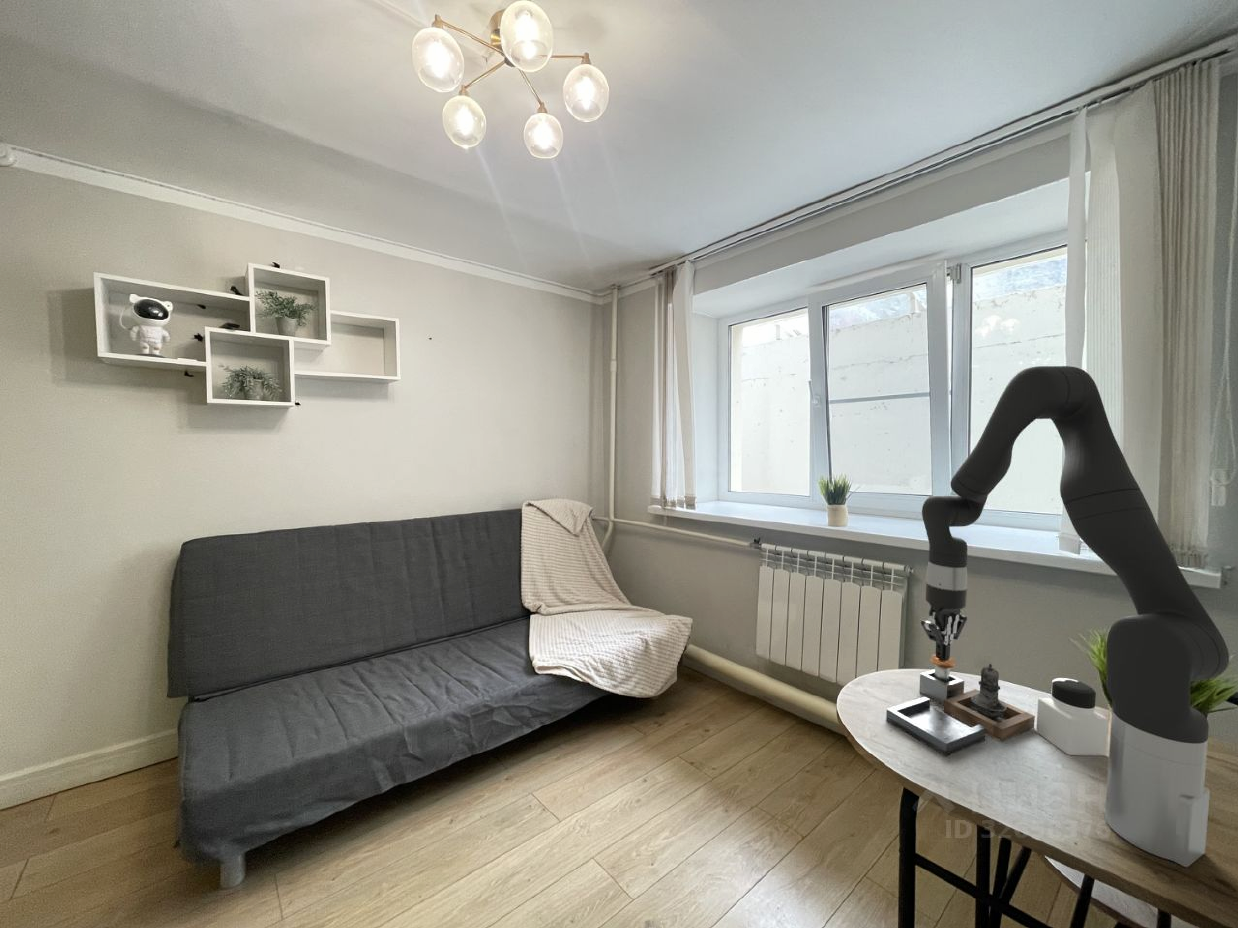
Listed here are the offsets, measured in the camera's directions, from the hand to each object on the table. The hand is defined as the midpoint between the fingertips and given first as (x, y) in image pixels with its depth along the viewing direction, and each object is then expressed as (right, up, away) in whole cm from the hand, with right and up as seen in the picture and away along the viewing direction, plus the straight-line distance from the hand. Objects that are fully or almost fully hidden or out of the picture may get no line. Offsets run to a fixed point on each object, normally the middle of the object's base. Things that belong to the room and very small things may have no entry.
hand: (942, 658), depth 107 cm
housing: (0, -9, +1) cm, 9 cm away
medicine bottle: (+14, -10, -16) cm, 23 cm away
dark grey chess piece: (+4, -10, -8) cm, 13 cm away
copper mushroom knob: (0, -7, 0) cm, 7 cm away
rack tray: (-10, -10, -12) cm, 18 cm away
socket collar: (+4, -9, -8) cm, 13 cm away
